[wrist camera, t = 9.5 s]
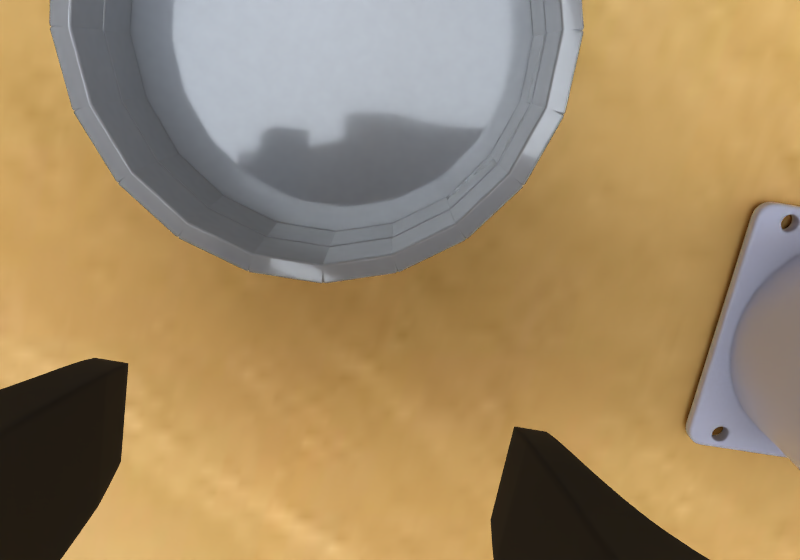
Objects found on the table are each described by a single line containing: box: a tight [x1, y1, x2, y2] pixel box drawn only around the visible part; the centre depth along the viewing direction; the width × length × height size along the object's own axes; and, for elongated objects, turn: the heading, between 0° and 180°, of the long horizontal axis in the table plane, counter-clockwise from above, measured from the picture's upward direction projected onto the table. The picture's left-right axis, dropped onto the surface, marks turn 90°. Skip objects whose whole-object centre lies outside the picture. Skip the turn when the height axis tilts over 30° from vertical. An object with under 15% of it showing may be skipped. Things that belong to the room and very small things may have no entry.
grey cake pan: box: [50, 0, 584, 283], centre depth 18 cm, size 12×12×4 cm
